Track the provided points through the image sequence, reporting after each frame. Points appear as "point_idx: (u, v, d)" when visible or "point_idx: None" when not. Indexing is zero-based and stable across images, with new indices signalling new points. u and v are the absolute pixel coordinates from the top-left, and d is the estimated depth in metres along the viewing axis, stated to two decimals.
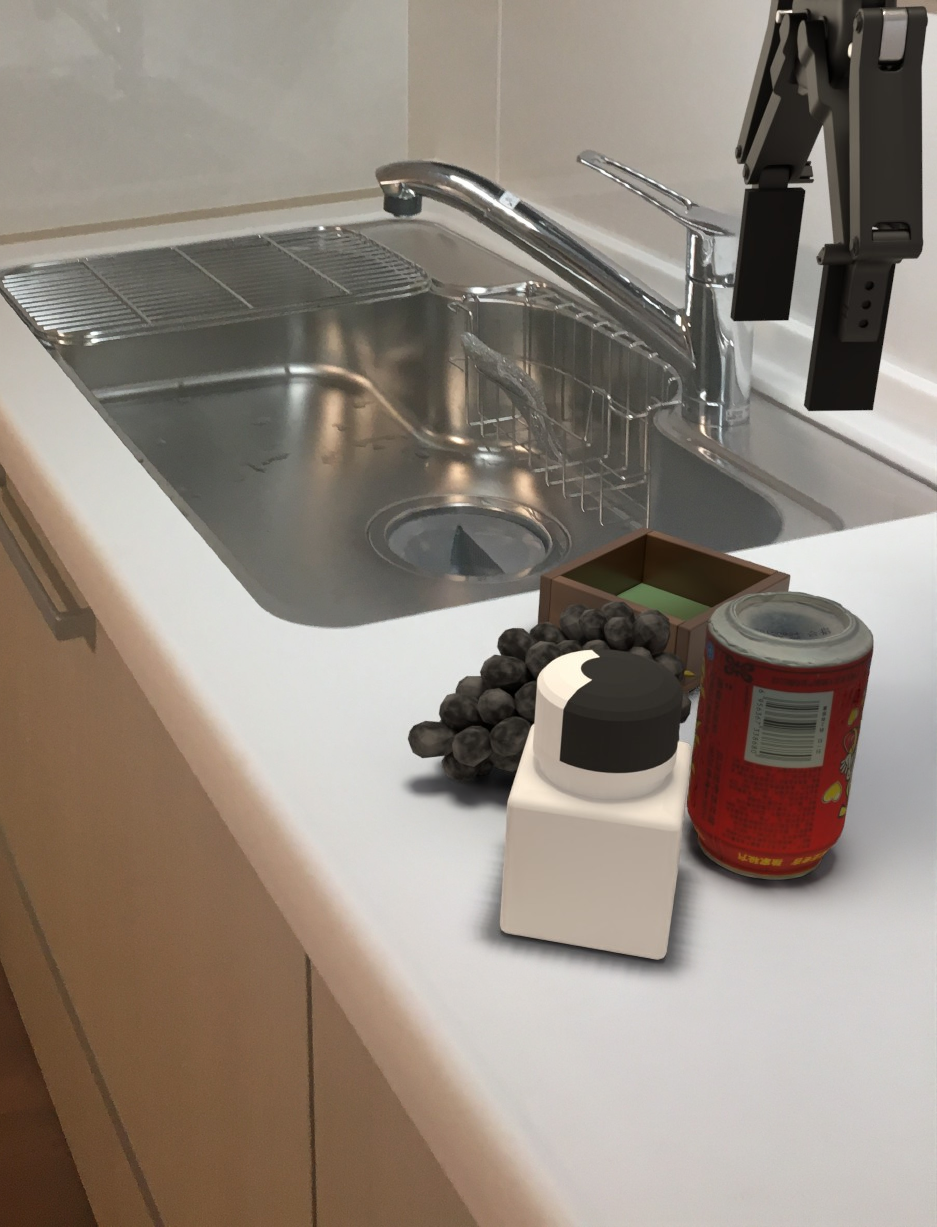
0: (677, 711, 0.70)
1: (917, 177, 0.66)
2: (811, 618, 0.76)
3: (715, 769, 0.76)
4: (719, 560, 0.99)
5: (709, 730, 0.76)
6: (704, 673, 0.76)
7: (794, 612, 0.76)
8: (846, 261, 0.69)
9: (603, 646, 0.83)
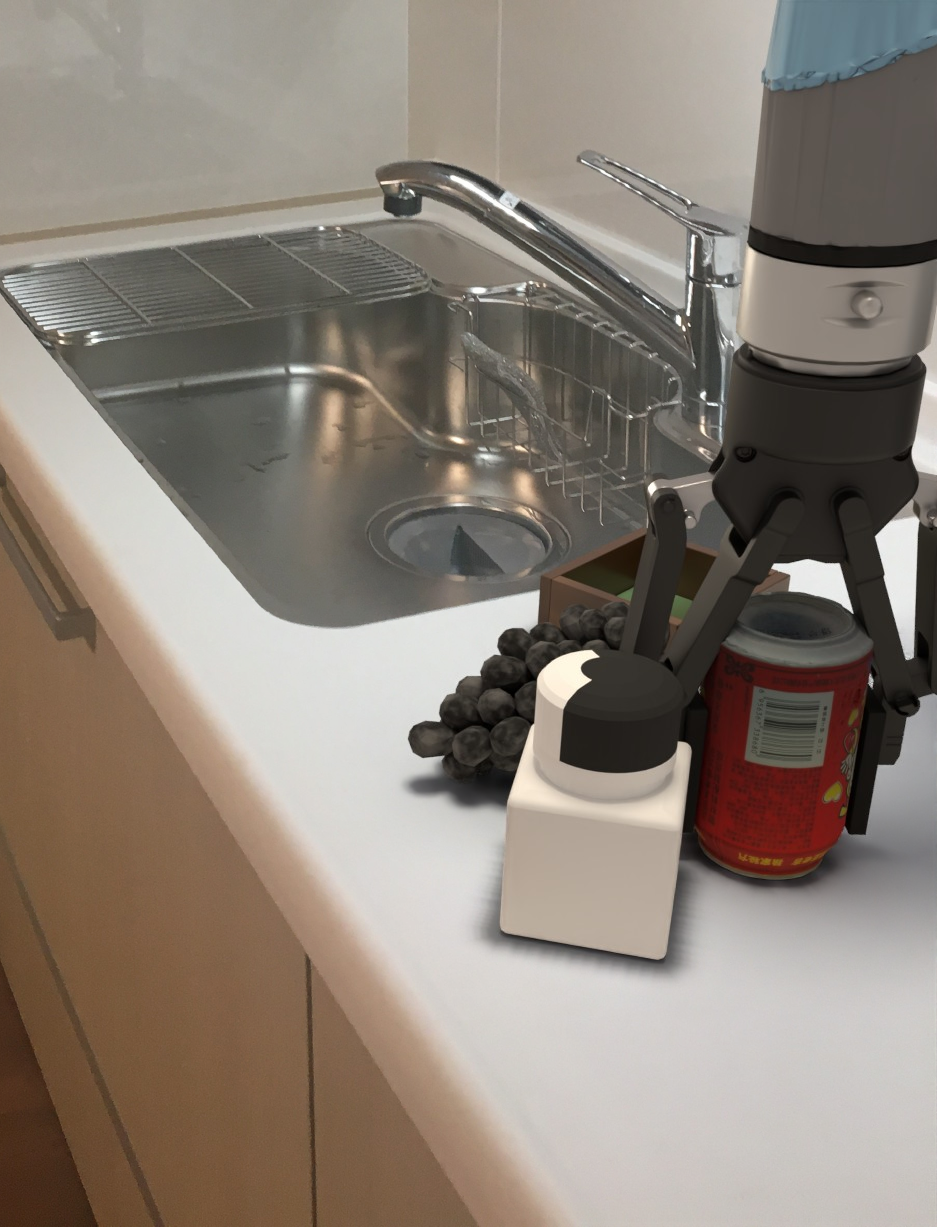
0: (677, 711, 0.70)
1: None
2: (811, 618, 0.76)
3: (715, 769, 0.76)
4: None
5: (709, 730, 0.76)
6: None
7: (794, 612, 0.76)
8: None
9: (603, 646, 0.83)
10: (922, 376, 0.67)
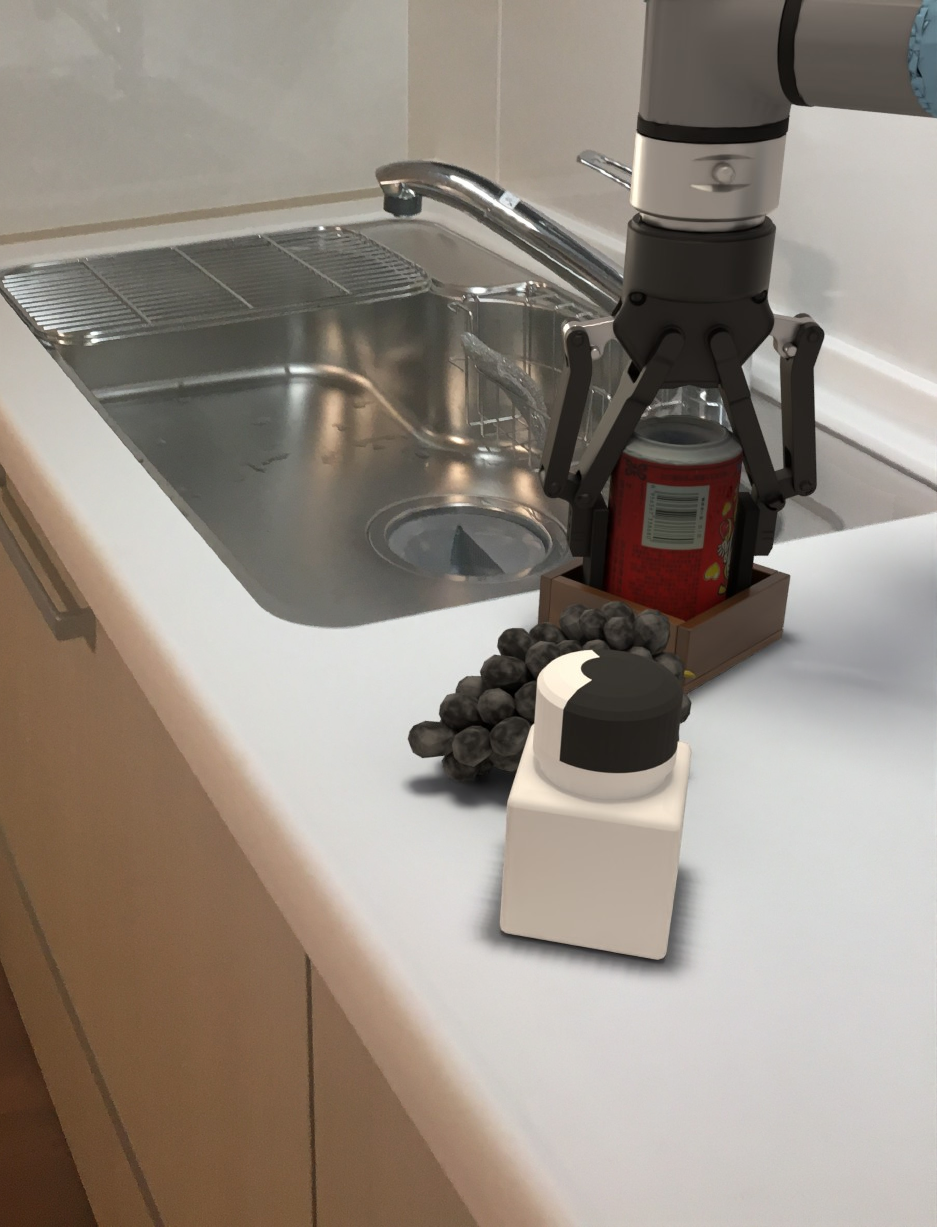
0: (677, 711, 0.70)
1: None
2: (696, 434, 0.95)
3: (620, 556, 0.95)
4: None
5: (615, 524, 0.95)
6: (611, 479, 0.95)
7: (683, 431, 0.95)
8: None
9: (603, 646, 0.83)
10: (771, 233, 0.87)
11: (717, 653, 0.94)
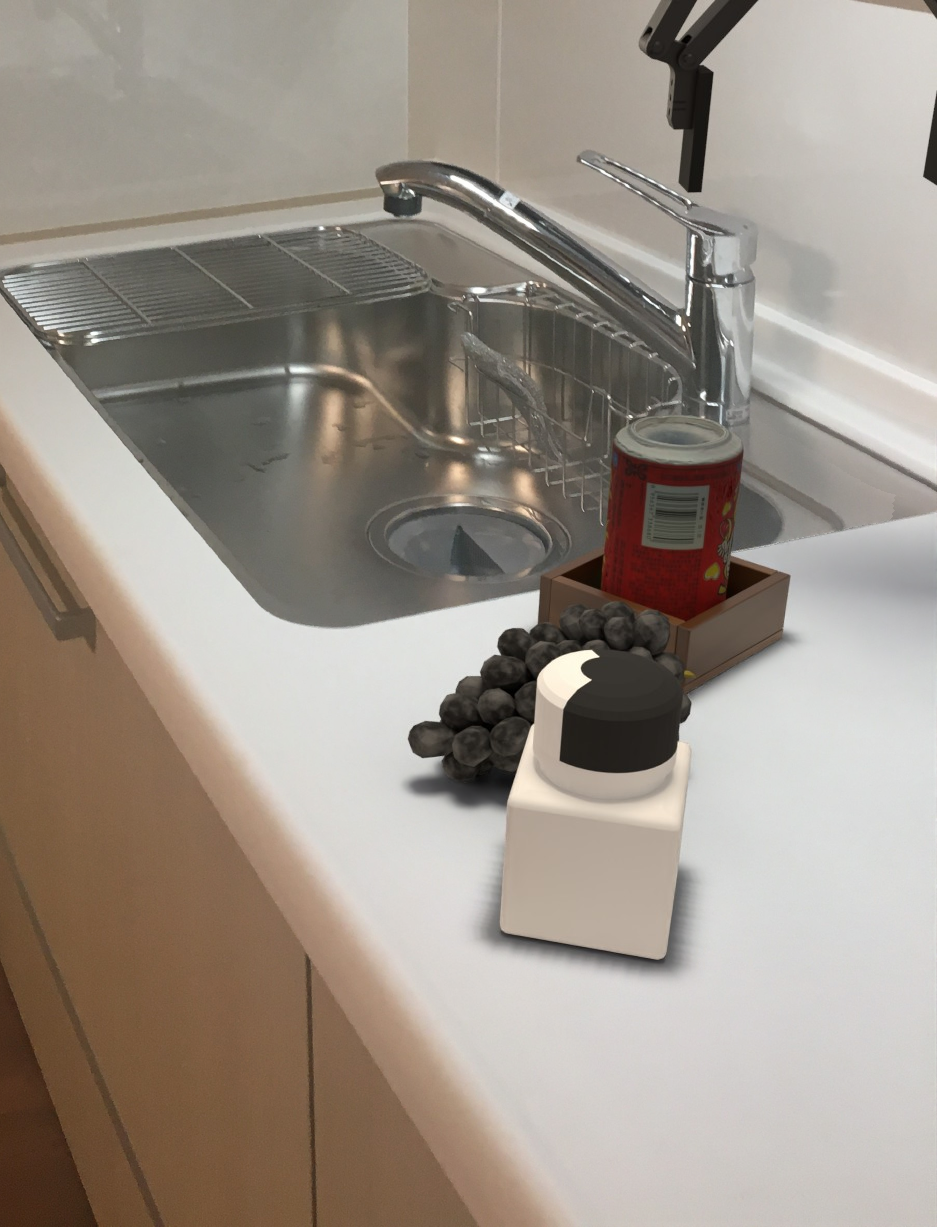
0: (677, 711, 0.70)
1: None
2: (696, 434, 0.95)
3: (620, 556, 0.95)
4: None
5: (615, 524, 0.95)
6: (611, 479, 0.95)
7: (683, 431, 0.95)
8: None
9: (603, 646, 0.83)
10: None
11: (717, 653, 0.94)
